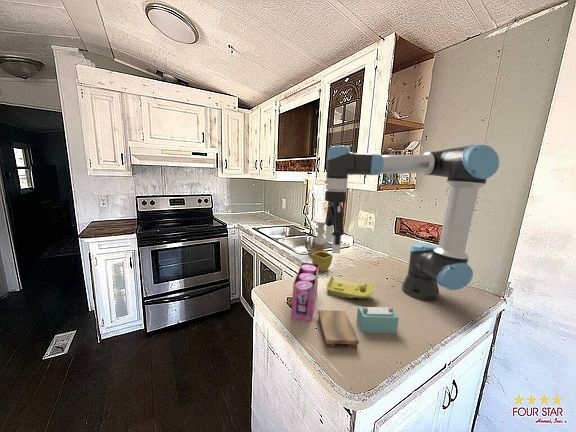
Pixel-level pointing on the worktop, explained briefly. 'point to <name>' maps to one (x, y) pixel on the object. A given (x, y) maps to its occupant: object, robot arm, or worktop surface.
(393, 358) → the worktop surface
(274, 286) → the worktop surface
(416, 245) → the robot arm
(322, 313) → the stand
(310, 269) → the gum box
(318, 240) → the candle holder
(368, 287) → the plastic component
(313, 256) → the flower pot
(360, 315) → the housing
